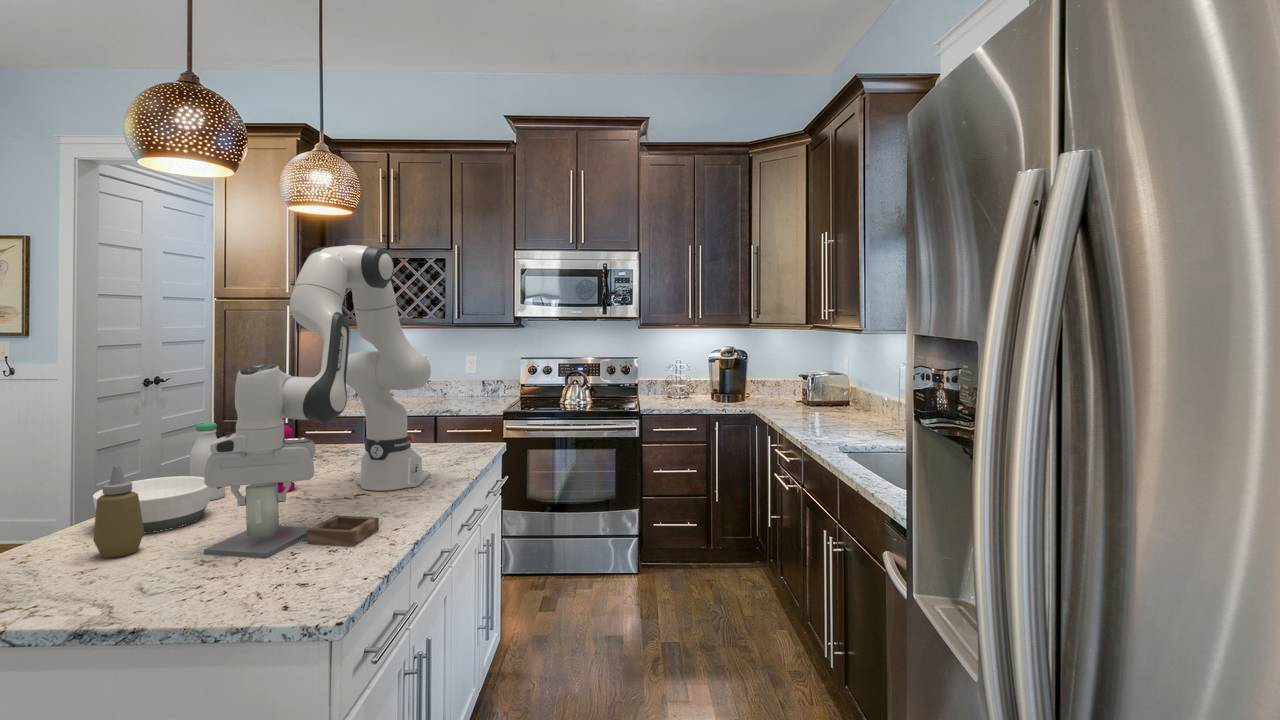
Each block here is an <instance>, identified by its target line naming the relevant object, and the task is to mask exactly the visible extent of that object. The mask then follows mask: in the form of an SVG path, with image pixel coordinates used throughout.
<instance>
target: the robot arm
mask: <svg viewBox="0 0 1280 720" xmlns="http://www.w3.org/2000/svg"><path fill="white" fill-rule="evenodd" d="M394 272H395V264H394V259H393V257H392V255H391V253H389V252H388V251H387V250H386V249H385V248H383V247H382V246H376V245H368V246H367V245H357V244H356V245H355V244H347V245H337V246H330V247H329V246H322V247H321V246H320V247H318V248H315V249H313V250H312V251H311V252H310V253H309V254H308V256H307V258H306V260H305V262H304V264H303V265H302V268H301V269H300V271H299V273H298V276H297V278H296V280H295V284H294V287H293V289H292V293H291V295H290V298H289V311H290V312H289V313H290V314H291V316H292V317H293V319H294V321H296V323H297V324H299V325H300V326H301V327H303V328H304V329H306V330H308V331H310V332H312V333H313V334H317V335H318V336H321V338H322V341H323V345H322V346H323V347H322V356H321V365H320V366H321V367H320V371H319V373H318V374H317V375H316V376H314V377H313V376H312V377H310V376H295V375H291V374H287V373H285V372H283V371H282V370H281V369H280V367H279V365H278V364H276V363H271V362H261V363H260V362H259V363H253V364H249V365H246V366H244V367H242V368H240V369H239V370H238V372H237V376H236V379H235V386H234V407H235V411H236V413H237V420H236V423H235V432H234V433H231V434H228V435H225V436H222V437H221V436H220V437H219V438H217V440H215V441H214V442H213V443H212V444H211V445H210V451H211V453H212V454H211V455H210V456H209V457H208V459H207V461H206V466H205V474H204V483H205V485H206V486H207V487H209V488H214V487H225V488H227V487H230V493H232V494H233V496H234V497H235V498H236V499H237V507H246V495H242V493H241V492H240V491H239V490H240V489H241V486H249V485H252V484H265V483H278V482H283V487H286V488H285V489H284V491H283V493H278V495H277V498H278V504H279V503H286V502H287V493H288V492H287V491H288V490H289V488H290V486H291V481H292V482H301V481H309V480H311V479H312V478H313V477H314V476H315V464H314V463H315V462H314V458H313V457H314V456H315V454H316V443H315V442H314V441H313V440H312V439H309V438H308V437H298V438H297V437H292V438H286V439H284V425H285V422H283V421H284V419H289V420H300V421H301V420H302V421H303V420H304V421H312V422H319V423H330V422H332V421H334V420H335V419H336V418H338V417H339V416H340V415H341V414H342V413H343V411H344V410H345V409H346V406H347V403H348V401H347V400H348V395H347V394H348V393H347V392H348V391H347V385H348V386H349V387H350V388H351V389H353V390H354V392H355V393H356V394H357V396H358V398H359V399H360V402H361V404H362V406H363V410H364V414H365V428H366V437H365V438H364V450H365V453H364V454H363V455H362V456H361V463H360V476H359V477H360V478H359V479H357V480H356V485H358V486H360V488H361V489H363V490H366V491H367V490H368V491H376V492H379V491H382V492H383V491H394V490H401V489H406V488H407V489H408V488H417V487H419V486H421V484H422V483H424V481H426V480H427V478H429V477H430V476H431V471H428V470H425V469H423V459H422V457H421V456H420V455H419V454H418V453H416V451H414V450H413V449H412V444H411V442H414V441H415V435H414V434H408V412H407V410H406V408H405V406H403V404H401V403H399V402H397V401H396V400H395V398H394V397H393V396H392V393H391V391H392V390H394V391H395V390H397V391H409V390H416V389H421V388H423V387H424V386H425V385H426V384H427V383H429V379H430V378H431V373H432V372H431V371H432V370H431V364H430V362H429V360H428V359H427V357H426V356H425V355H424V354H422V353H420V352H419V351H417V350H416V349H415V347H413V346H412V344H411V343H410V342H409V341H408V339H407V337H406V336H405V333H404V331H403V329H402V326H401V321H400V317H399V316H400V315H399V312H398V306H397V305H398V304H397V300H396V294H395V291H394V286H393V284H392V279H393V276H394ZM347 289H351V293H352V303H353V309H354V314H355V320H356V326H357V327H356V328H357V332H358V335H359V336H360V338H362V339H363V340H365V342H367V343H370V344H371V345H372V346H373V347H374V348H375V349H376V350H377V351H376V350H375V351H374V350H371V351H370V350H366V351H365V350H364V351H359V352H353V353H351V354H349V348H350V334H351V333H350V331H351V330H350V322H349V320H348V318H347V317H346V316H345V315H344V314H343V304H344V300H345V295H346V290H347ZM284 443H285V444H284ZM284 445H285V446H284Z"/></svg>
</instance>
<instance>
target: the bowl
mask: <svg viewBox="0 0 1280 720" xmlns="http://www.w3.org/2000/svg"><path fill="white" fill-rule="evenodd" d="M131 482H132V491H133V492H135V493H137V494H138V497H139V503H140V509H141V515H142V521H143V527H144V532H151V533H154V532H153V531H159V532H161V531H160V530H164V531H166V530H165V529H169V530H171V529H170V528H174V529H176V528H175V527H178V528H180V527H179V526H181V527H183V526H182V525H185V524H188V523H190V524H192V523H191V522H193V521H195V520H196V521H198V520H199V519H200V518H201V517H202V515H203V513H204V512H205V510H206V508H207V507H208V505H209V502H210V501H211V500H210V498H211V495H212V488H209V487H207V486H206V485H205V483H204V477H195V476H190V475H183V476H182V475H179V476H163V477H153V478H146V479H139V480H134V481H131ZM102 495H105V494H103V488H102V489H100V490H98V491H96V492H95V493H94V494H93V495H92V499H93V504H94V509H95V511H96V506H97V499H98V498H99V497H100V496H102ZM200 516H201V517H200ZM197 519H198V520H197ZM196 521H195V522H196ZM193 523H194V522H193ZM188 525H189V524H188ZM185 526H186V525H185Z"/></svg>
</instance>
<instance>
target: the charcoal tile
mask: <svg viewBox="0 0 1280 720" xmlns="http://www.w3.org/2000/svg"><path fill="white" fill-rule="evenodd" d="M310 528H312V527H309V526H308V527H307V526H305V527H304V526H293V525H292V526H291V525H290V526H289V525H279V531H277V532H276V533H273V534H270V535H265V536H248V535H247V529H246V530H244V531H243V532H240V533H238V534H235V535H233V536H230V537H229V538H226V539H224V540H222V541H219V542H216V543H215V544H213V545H210V546H209V547H206V548H204V549H203V555H208V554H214V555H213V556H227V557H241V556H242V557H244V558H247V557H248V558H258V557H261V559H268V558H270V557H272V556H274V555H275V553H276V554H278V553H279V552H281V551H283V550H285V549H287V548H289V547H290V545H291V546H293V545H294V543H295V542H296V543H298V542H300V541H302V540H304V539H306V538H307V530H308V529H310ZM305 537H306V538H305ZM303 538H304V539H303ZM301 539H302V540H301ZM299 540H300V541H299ZM297 541H298V542H297ZM296 543H295V544H296ZM292 544H293V545H292ZM288 546H289V547H288ZM286 547H287V548H286ZM284 548H285V549H284ZM271 555H272V556H271ZM267 557H268V558H267Z"/></svg>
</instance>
